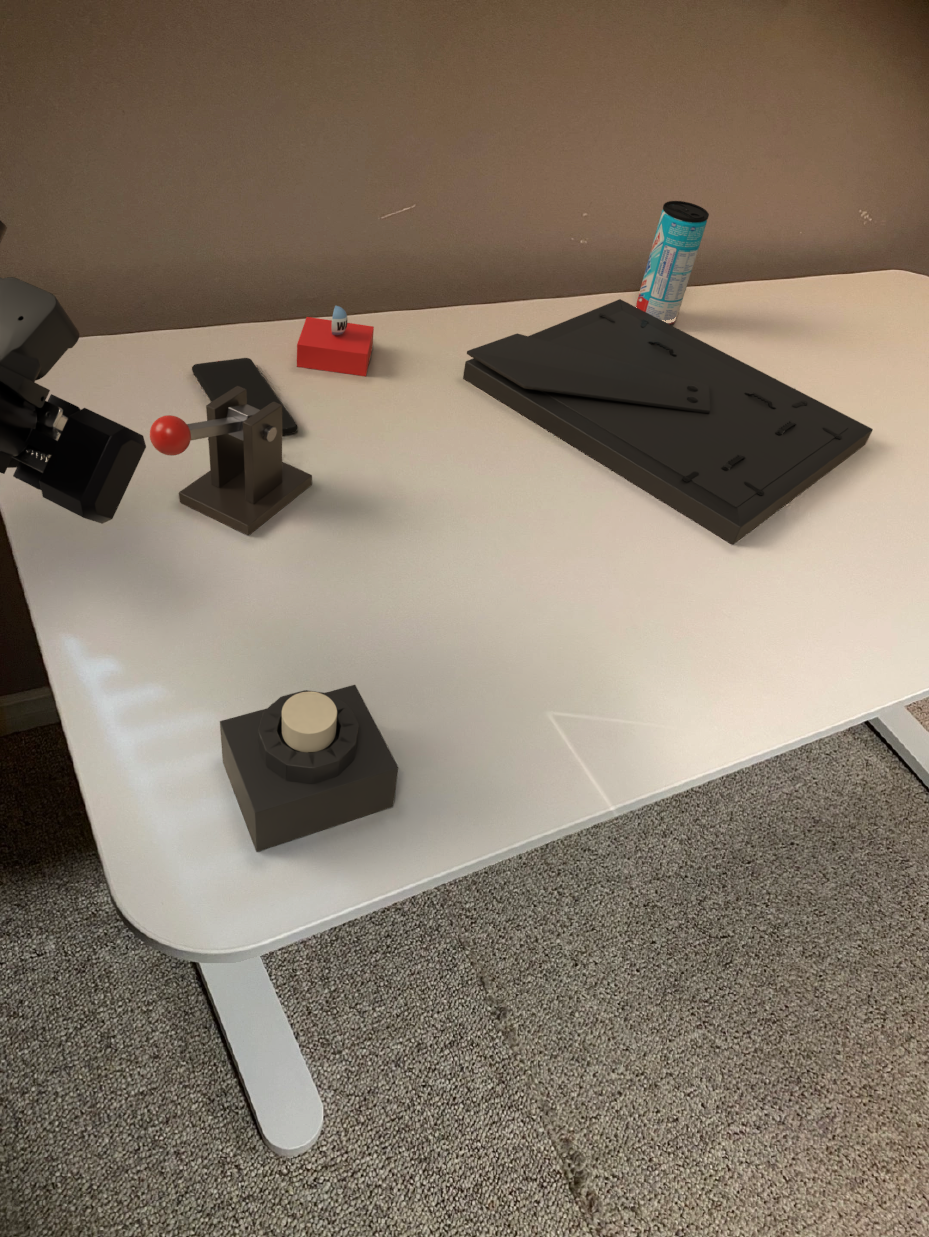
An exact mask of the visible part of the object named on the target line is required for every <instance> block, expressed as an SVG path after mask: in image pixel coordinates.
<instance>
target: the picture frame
mask: <svg viewBox="0 0 929 1237" xmlns="http://www.w3.org/2000/svg"><path fill="white" fill-rule="evenodd" d="M466 355H468V357H471V359H467V360H466V361H465V363H464V368H463V369H464V370H463V374H462V379H463V380H465V381H466V382H468V383H470V384H471V385H472V386H475V387H476V388H478V389H479V390H481V391H483V392H484V393H486V394H488V395H489V396H491V397H492V398H494V399H495V400H497V401H499V402H500V403H502V404H504V406H507V407H508V408H510V409H511V410H513V411H515V412H516V413H518V414H520V415H522V416H523V417H525V418H526V419H528V420H529V421H531V422H533V423H535V424H536V425H538V426H539V427H541V428H543V429H544V430H546V431H547V432H549V433H551V434H552V435H554V436H555V437H557V438H559V439H560V440H561V441H563V442H565V443H567V444H569V445H570V446H572V447H573V448H575V449H577V450H578V451H580V452H581V453H583V454H585V455H586V456H587V457H589V458H591V459H593V460H594V461H595V462H598V463H599V464H601V466H604V467H606V468H607V469H609V470H610V471H613V472H614V473H616V475H619V476H620V477H622V478H624V479H625V480H627V482H628V481H629V483H632V484H633V485H635V486H637V487H638V488H640V490H642V491H645V492H646V493H648V494H649V495H651V496H653V497H654V498H656V499H657V500H659V501H660V502H663V503H664V504H666V505H667V506H669V507H670V508H672V509H674V510H676V511H677V512H679V513H680V514H682V515H683V516H685V517H687V518H688V519H689V520H692V521H693V522H695V523H696V524H698V525H700V526H701V527H703V528H704V529H706V530H708V531H710V532H711V533H713V534H714V535H716V536H717V537H719V538H721V539H722V540H723V541H726V542H727V543H729V544H730V545H734V544H736V543H737V542H738V541H740V540H741V539H742V538H744V537H745V536H746V535H748V534H749V533H750V532H752V531H754V529H756V528H757V527H758V526H760V525H761V524H762V523H764V522H765V521H766V520H767V519H769V518H770V517H772V516H773V515H774V514H776V513H777V512H778V511H779V510H781V509H782V508H783V507H785V506H786V505H787V504H789V503H790V502H791V501H793V500H794V499H796V498H797V497H798V496H799V495H801V494H802V493H804V492H805V491H806V490H807V489H809V488H810V487H811V486H813V485H814V484H816V482H818V481H819V480H820V479H822V478H823V477H825V476H826V475H827V474H829V473H830V472H831V471H833V470H834V469H835V468H836V467H838V466H839V465H840V464H842V463H843V462H844V461H846V460H847V459H848V458H850V457H851V456H853V454H855V453H856V452H858V451H859V450H861V448H863V447H865V446H866V444H867V443H868V440H869V438H870V436H871V434H872V432H873V431H874V430H873V428H871V427H870V426H868V425H866V424H864V423H862V422H860V421H859V420H856V419H854V418H852V417H850V416H848V415H846V414H844V413H842V412H841V411H839V410H837V409H835V408H833V407H831V406H829V405H827V404H825V403H823V402H821V401H820V400H817V399H815V398H813V397H811V396H809V395H807V394H806V393H804V392H801V391H800V390H798V389H796V388H794V387H792V386H790V385H788V384H787V383H784V382H783V381H781V380H778V379H776V378H775V377H772V376H771V375H769V374H767V373H765V372H763V371H761V370H759V369H757V368H755V367H753V366H752V365H750V364H747V363H745V362H743V361H741V360H739V359H737V358H735V357H733V356H732V355H730V354H728V353H726V352H724V351H722V350H721V349H719V348H716V347H714V346H712V345H710V344H708V343H706V342H704V341H702V340H700V339H699V338H697V337H695V336H693V335H691V334H689V333H687V332H685V331H683V330H682V329H679V328H677V327H675V326H674V325H672V326H671V325H669V324H668V323H666V322H664V321H662V320H660V319H658V318H656V317H654V316H652V315H650V314H648V313H646V312H644V311H642V310H640V309H638V308H636V307H635V305H632V304H630V303H628V302H626V301H625V300H623V299H621V298H619V299H617V300H614V301H611V302H609V303H607V304H604V305H602V306H599V307H597V308H594V309H592V310H589V311H587V312H585V313H582V314H579V315H577V316H574V317H572V318H570V319H567V320H565V321H562V322H559V323H557V324H554V325H553V326H550V327H547V328H545V329H542V330H540V331H537V332H535V333H532V334H530V335H525V334H521V333H514V334H511V335H508V336H505V337H502V338H500V339H497V340H494V341H491V342H489V343H486V344H483V345H479V346H477V347H474V348H472V349H469V350H467V351H466Z"/></svg>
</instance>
